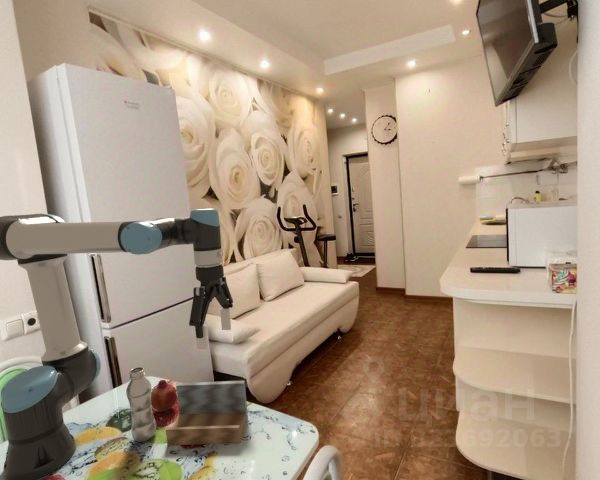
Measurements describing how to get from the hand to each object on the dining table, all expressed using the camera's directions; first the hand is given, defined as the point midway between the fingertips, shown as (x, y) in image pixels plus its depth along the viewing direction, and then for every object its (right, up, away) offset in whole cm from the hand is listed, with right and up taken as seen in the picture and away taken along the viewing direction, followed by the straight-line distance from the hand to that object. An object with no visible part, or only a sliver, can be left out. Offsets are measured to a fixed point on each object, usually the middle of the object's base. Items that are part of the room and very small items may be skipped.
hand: (215, 338), depth 99 cm
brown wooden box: (-2, -27, 0) cm, 27 cm away
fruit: (-19, -27, +13) cm, 35 cm away
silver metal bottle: (-20, -28, 0) cm, 34 cm away
